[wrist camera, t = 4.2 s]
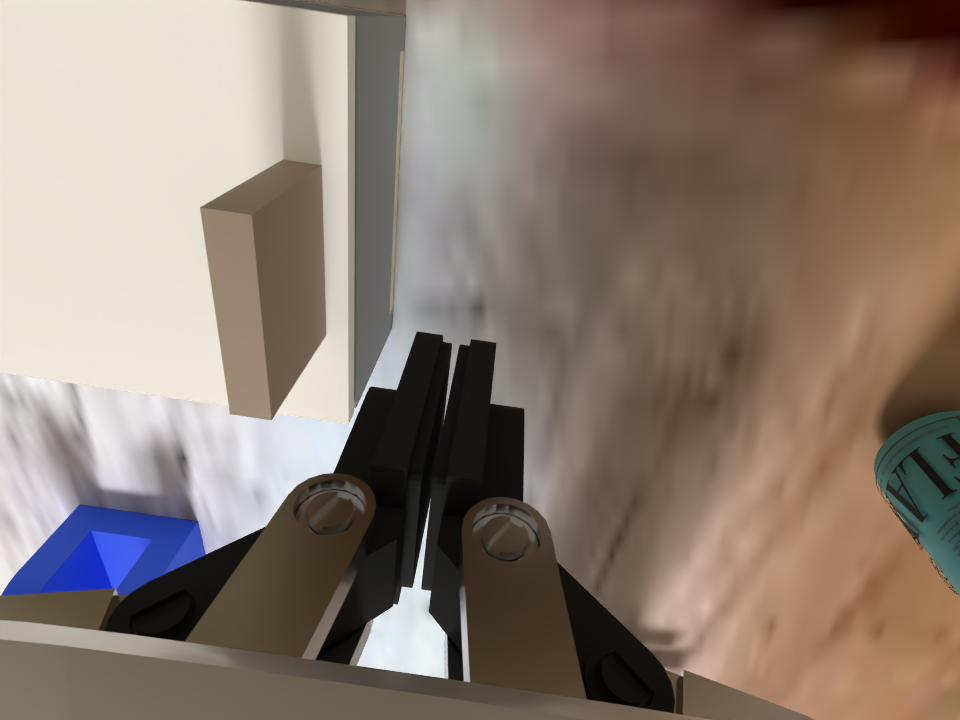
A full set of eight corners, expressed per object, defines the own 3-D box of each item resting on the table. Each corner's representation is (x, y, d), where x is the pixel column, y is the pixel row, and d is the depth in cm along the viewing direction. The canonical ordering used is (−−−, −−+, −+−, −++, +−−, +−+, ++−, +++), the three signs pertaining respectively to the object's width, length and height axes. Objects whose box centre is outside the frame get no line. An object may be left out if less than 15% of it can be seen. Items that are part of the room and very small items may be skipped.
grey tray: (406, 16, 22) (357, 16, 16) (392, 328, 29) (355, 407, 23) (-151, -66, 22) (-407, -97, 16) (-23, 266, 29) (-165, 330, 23)
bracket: (81, 503, 39) (-30, 622, 31) (199, 519, 39) (117, 643, 31) (136, 649, 48) (62, 768, 41) (231, 662, 48) (175, 784, 41)
